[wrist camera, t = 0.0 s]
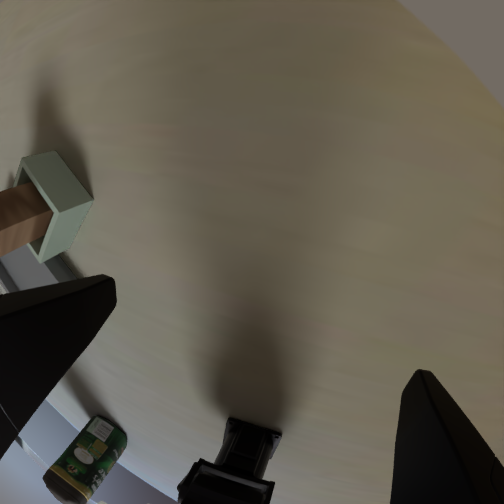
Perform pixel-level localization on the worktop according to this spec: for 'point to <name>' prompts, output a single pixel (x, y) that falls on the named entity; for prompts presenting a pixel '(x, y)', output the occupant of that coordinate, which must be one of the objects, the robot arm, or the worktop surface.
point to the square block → (22, 217)
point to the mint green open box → (55, 201)
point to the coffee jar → (85, 462)
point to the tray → (31, 270)
